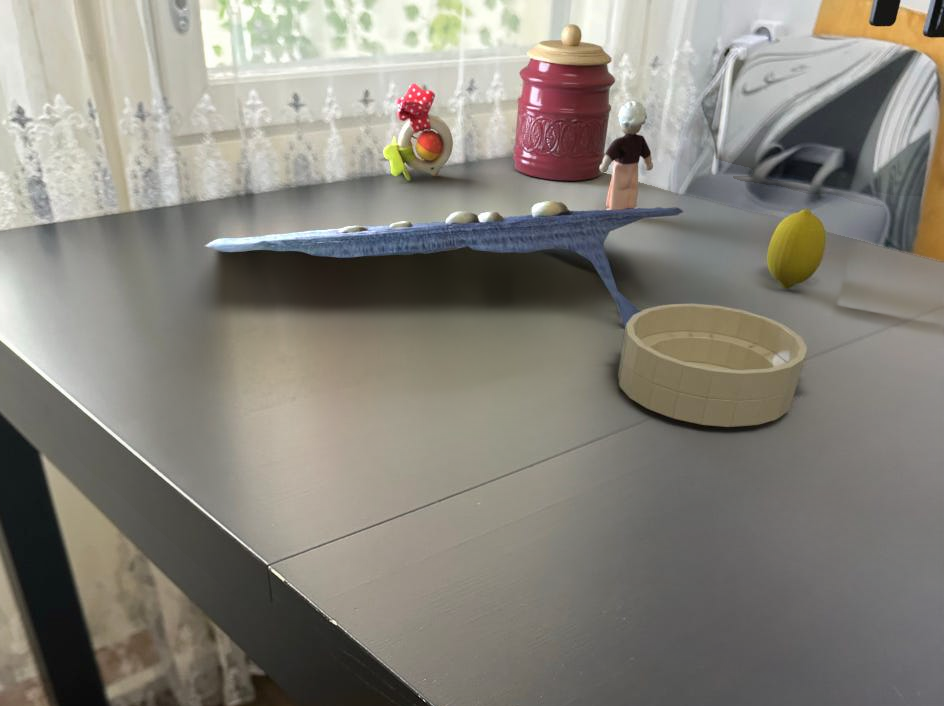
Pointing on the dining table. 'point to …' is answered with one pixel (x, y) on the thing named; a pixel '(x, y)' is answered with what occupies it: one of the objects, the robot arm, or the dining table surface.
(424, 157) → the bird rattle
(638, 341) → the bowl
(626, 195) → the grandmother figurine
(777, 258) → the lemon
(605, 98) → the kitchen canister
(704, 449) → the dining table surface
